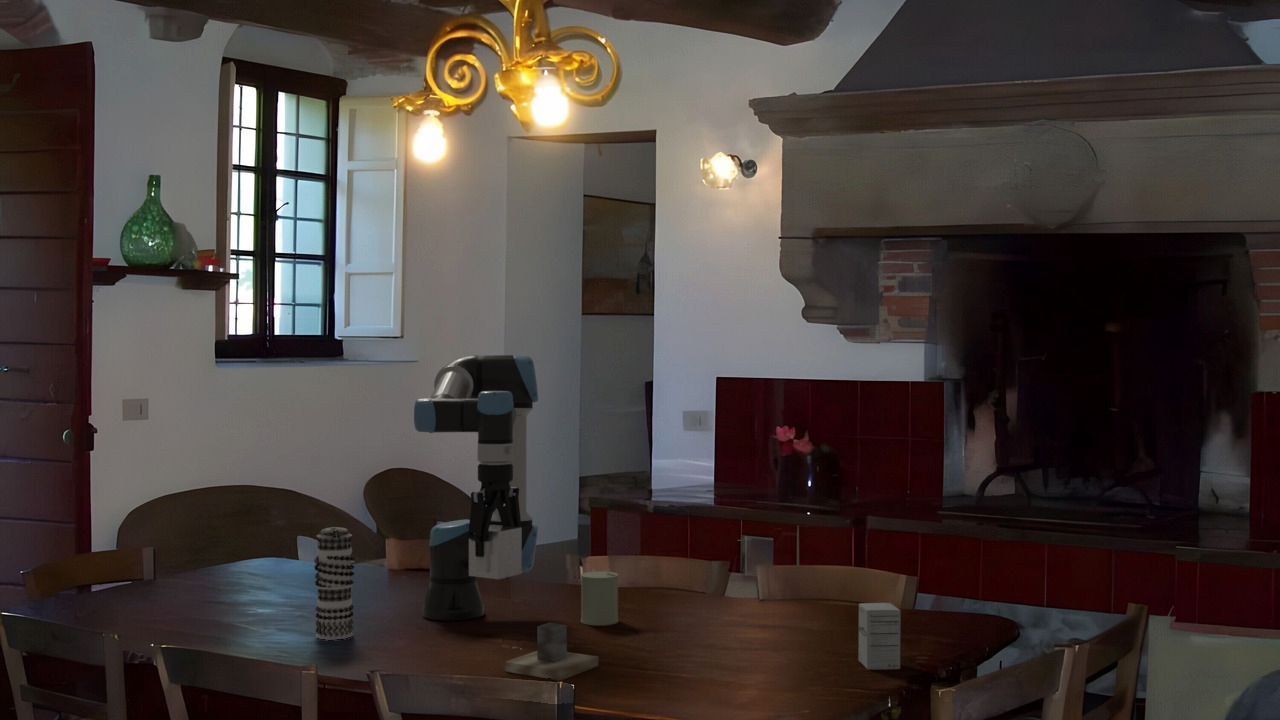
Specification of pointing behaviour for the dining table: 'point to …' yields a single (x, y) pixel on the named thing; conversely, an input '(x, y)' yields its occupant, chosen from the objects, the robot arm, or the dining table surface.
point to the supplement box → (879, 636)
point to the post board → (550, 667)
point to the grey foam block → (500, 553)
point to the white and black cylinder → (334, 584)
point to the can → (599, 598)
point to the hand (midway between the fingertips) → (495, 568)
